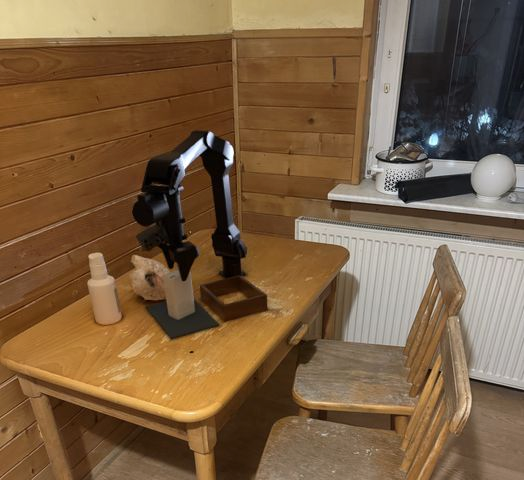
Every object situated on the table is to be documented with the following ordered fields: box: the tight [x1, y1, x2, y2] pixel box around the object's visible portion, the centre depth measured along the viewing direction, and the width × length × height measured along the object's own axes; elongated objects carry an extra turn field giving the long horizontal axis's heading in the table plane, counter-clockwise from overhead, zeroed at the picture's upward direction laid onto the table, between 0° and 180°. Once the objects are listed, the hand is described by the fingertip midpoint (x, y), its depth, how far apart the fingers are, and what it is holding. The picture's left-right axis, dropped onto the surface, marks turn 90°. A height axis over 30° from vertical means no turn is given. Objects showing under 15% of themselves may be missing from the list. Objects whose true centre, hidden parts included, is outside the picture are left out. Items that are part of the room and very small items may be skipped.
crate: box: [199, 275, 269, 323], centre depth 139 cm, size 16×13×4 cm
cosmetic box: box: [163, 268, 195, 320], centre depth 131 cm, size 6×4×12 cm
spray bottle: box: [86, 252, 123, 326], centre depth 130 cm, size 7×7×18 cm
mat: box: [145, 299, 220, 340], centre depth 135 cm, size 20×13×1 cm, turn 29°
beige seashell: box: [128, 254, 171, 303], centre depth 148 cm, size 18×14×8 cm
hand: (177, 274), depth 129 cm, fingers open, 9 cm apart
